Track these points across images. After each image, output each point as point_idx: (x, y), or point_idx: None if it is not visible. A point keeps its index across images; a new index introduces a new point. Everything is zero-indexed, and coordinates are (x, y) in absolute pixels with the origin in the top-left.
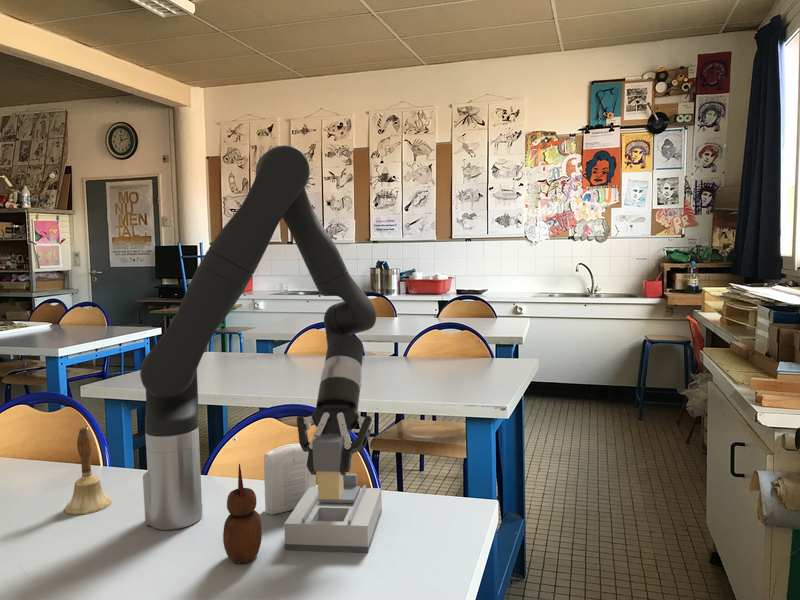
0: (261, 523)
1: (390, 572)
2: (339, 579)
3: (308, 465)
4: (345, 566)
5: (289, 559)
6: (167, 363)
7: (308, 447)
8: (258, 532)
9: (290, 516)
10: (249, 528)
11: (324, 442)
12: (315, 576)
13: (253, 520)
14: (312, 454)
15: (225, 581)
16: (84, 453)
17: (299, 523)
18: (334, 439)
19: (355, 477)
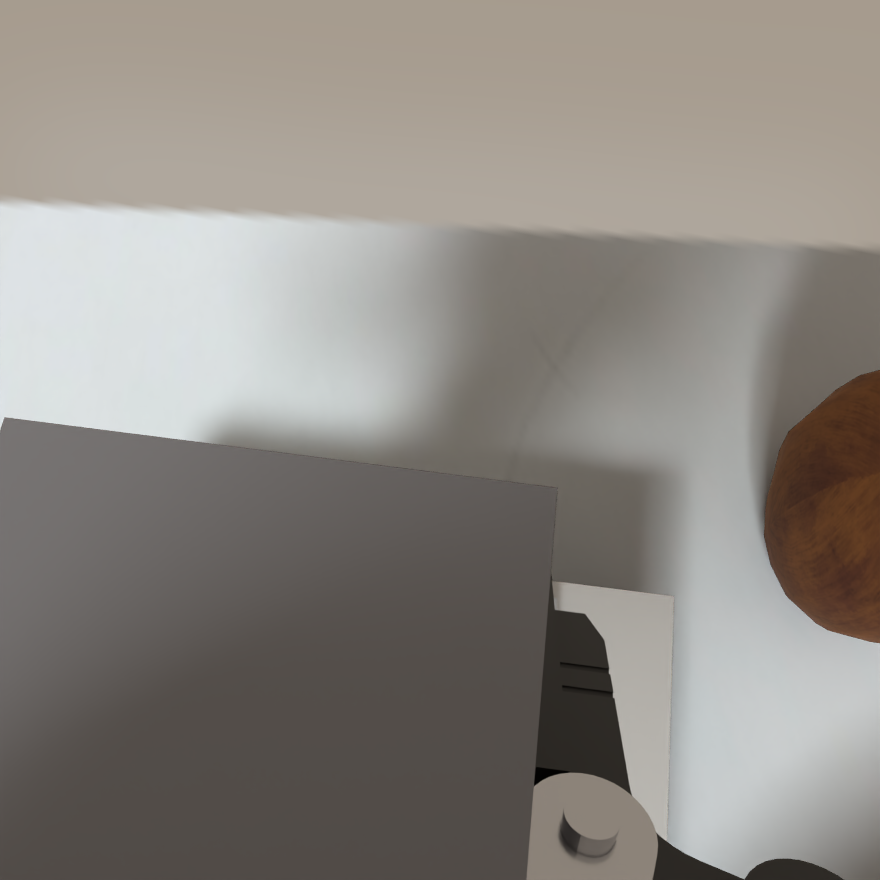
0: (827, 561)
1: (60, 361)
2: (305, 318)
3: (576, 634)
4: (279, 426)
5: (580, 512)
6: None
7: (663, 872)
8: (803, 464)
9: (660, 714)
10: (860, 384)
11: (308, 463)
12: (420, 348)
13: (869, 422)
14: (551, 706)
15: (829, 331)
16: None
17: (567, 589)
18: (96, 606)
19: None
